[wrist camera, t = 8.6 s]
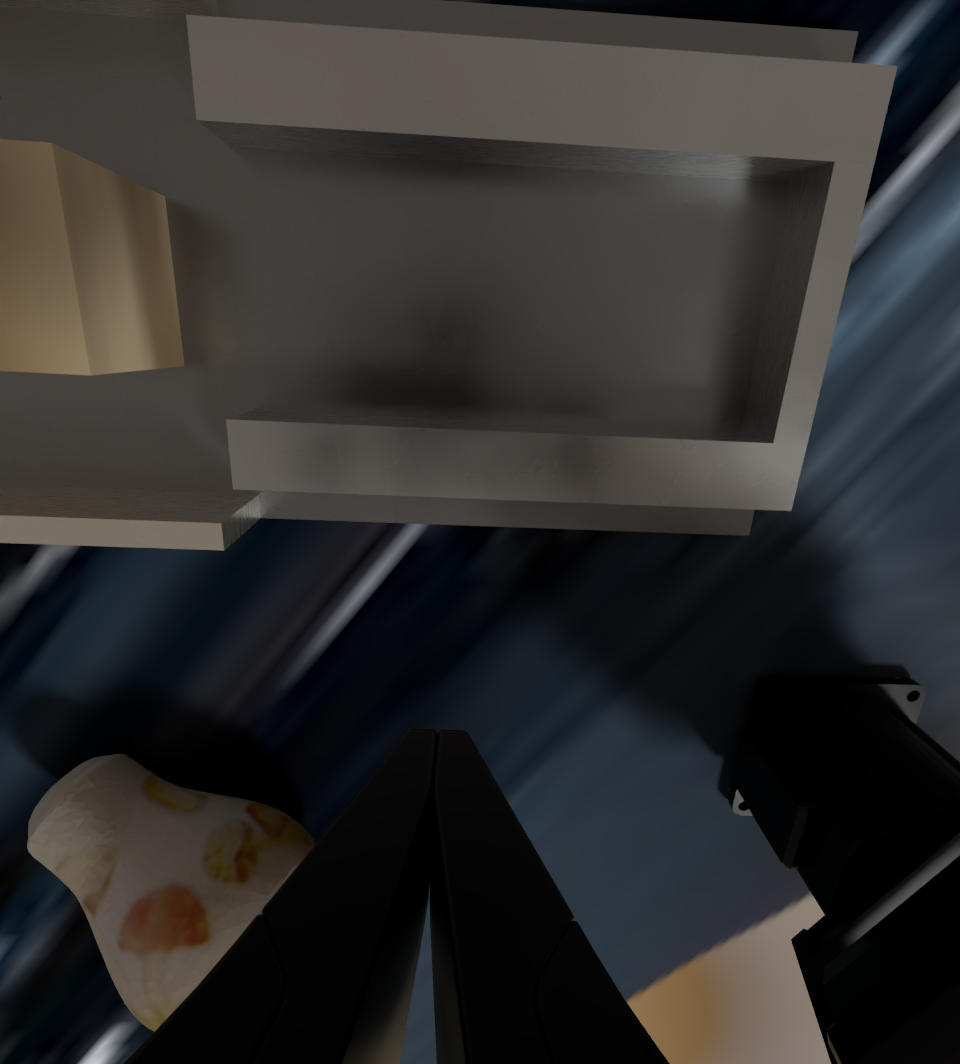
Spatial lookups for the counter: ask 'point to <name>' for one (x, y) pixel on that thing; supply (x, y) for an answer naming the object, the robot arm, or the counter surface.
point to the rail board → (445, 264)
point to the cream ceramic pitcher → (161, 872)
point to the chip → (82, 267)
